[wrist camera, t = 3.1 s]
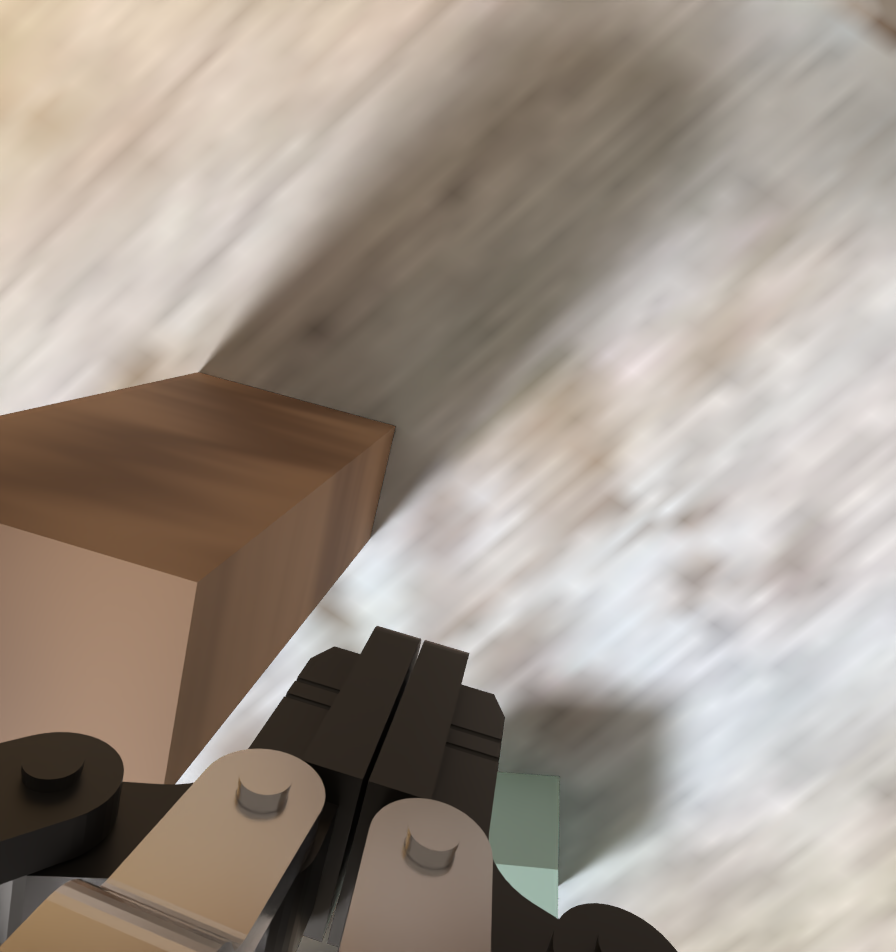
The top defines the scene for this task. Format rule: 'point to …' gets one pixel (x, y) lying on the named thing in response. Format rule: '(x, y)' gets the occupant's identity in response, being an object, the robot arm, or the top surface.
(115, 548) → the walnut block
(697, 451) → the top surface
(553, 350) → the top surface
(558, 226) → the top surface
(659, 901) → the top surface
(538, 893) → the pale green block
